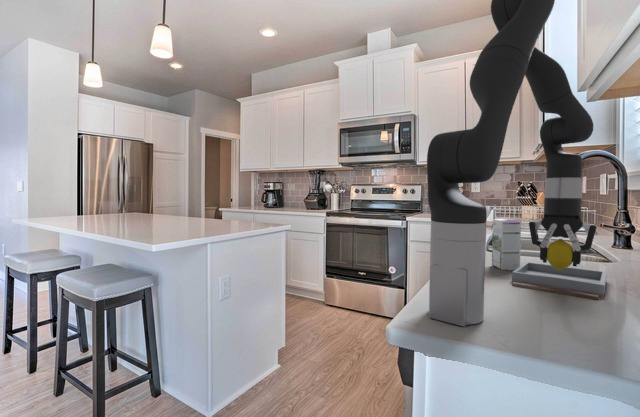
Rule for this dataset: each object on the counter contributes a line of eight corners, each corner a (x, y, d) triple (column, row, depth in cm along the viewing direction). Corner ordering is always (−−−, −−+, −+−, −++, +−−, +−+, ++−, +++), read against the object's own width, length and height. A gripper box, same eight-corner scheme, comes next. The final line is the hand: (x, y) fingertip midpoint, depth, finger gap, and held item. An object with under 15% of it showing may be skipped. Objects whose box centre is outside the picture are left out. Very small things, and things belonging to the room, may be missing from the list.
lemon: (577, 273, 81) (579, 240, 81) (552, 272, 83) (553, 240, 82) (566, 268, 87) (567, 237, 86) (542, 267, 88) (543, 237, 88)
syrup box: (521, 270, 97) (522, 219, 96) (500, 270, 97) (501, 219, 97) (510, 265, 103) (511, 218, 102) (490, 265, 103) (491, 218, 102)
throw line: (598, 299, 71) (598, 297, 71) (512, 285, 81) (512, 283, 81) (598, 298, 72) (598, 295, 72) (513, 284, 83) (513, 281, 83)
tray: (603, 296, 73) (604, 285, 73) (512, 281, 85) (512, 272, 84) (606, 281, 85) (606, 271, 85) (525, 270, 97) (526, 261, 97)
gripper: (526, 196, 86) (523, 262, 87) (599, 197, 76) (595, 271, 77) (531, 196, 91) (529, 258, 92) (600, 196, 82) (597, 266, 83)
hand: (559, 263), depth 85 cm, fingers closed on lemon, 5 cm apart
